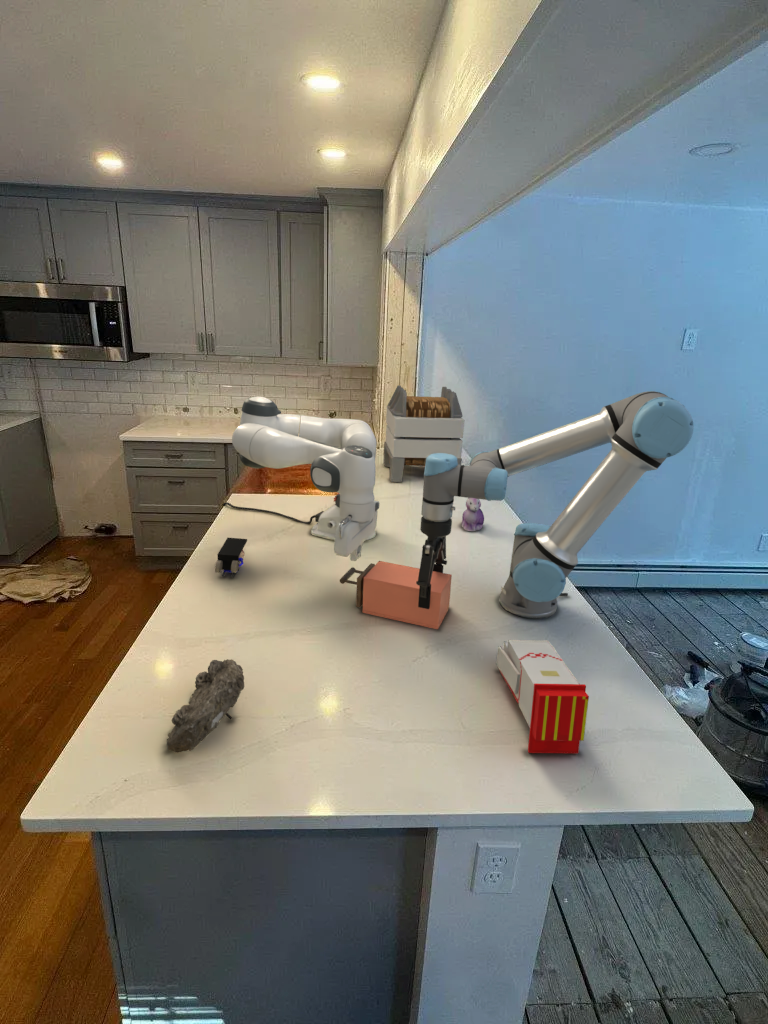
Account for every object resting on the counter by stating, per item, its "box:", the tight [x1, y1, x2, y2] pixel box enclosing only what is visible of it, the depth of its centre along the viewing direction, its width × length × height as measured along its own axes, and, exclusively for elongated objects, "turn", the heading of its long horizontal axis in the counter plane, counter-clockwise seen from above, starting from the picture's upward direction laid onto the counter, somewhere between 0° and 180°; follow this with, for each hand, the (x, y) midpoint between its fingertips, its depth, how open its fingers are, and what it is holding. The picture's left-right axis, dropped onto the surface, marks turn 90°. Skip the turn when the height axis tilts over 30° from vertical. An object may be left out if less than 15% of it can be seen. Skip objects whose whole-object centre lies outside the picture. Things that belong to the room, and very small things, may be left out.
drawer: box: [339, 563, 376, 609], centre depth 149 cm, size 24×10×8 cm, turn 70°
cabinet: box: [362, 560, 453, 630], centre depth 147 cm, size 20×11×10 cm, turn 70°
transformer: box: [383, 384, 465, 483], centre depth 268 cm, size 34×33×41 cm
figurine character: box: [214, 537, 248, 578], centre depth 166 cm, size 7×8×15 cm
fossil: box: [166, 658, 245, 754], centre depth 106 cm, size 22×10×15 cm
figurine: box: [461, 498, 485, 532], centre depth 206 cm, size 9×10×15 cm
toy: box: [495, 639, 590, 754], centre depth 114 cm, size 12×13×30 cm
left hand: (355, 559), depth 150 cm, fingers closed
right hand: (430, 597), depth 145 cm, fingers closed on cabinet, 11 cm apart
